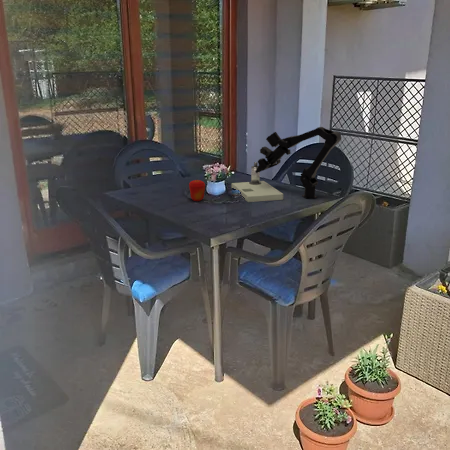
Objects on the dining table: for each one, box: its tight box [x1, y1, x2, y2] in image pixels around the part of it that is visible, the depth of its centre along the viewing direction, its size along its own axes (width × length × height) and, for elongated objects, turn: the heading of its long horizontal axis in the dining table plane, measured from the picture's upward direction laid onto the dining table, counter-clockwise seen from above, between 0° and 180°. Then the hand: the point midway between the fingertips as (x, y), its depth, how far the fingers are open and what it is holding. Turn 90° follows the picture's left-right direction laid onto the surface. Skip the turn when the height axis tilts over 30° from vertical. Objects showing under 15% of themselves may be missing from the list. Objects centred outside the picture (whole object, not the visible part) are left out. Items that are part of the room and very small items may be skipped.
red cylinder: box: [188, 179, 206, 202], centre depth 262 cm, size 9×8×12 cm
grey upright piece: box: [250, 161, 261, 184], centre depth 285 cm, size 5×5×12 cm
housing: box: [231, 180, 284, 203], centre depth 276 cm, size 30×20×3 cm, turn 16°
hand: (259, 170), depth 283 cm, fingers open, 9 cm apart
